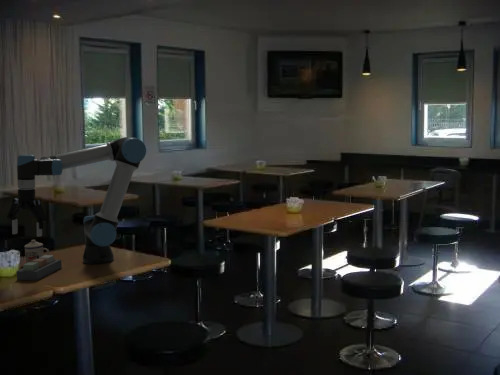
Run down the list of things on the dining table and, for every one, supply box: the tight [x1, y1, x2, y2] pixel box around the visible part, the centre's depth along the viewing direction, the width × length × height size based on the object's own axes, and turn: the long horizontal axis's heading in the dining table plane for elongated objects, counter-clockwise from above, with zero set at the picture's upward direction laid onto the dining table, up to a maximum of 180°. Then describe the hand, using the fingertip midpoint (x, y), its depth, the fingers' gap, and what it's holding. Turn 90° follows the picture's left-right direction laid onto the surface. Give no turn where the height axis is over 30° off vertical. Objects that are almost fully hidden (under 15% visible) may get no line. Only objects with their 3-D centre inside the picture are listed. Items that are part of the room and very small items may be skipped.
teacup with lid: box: [23, 239, 50, 264], centre depth 317 cm, size 12×9×12 cm
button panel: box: [16, 259, 62, 281], centre depth 295 cm, size 10×22×4 cm, turn 168°
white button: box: [40, 254, 55, 263], centre depth 302 cm, size 5×5×4 cm
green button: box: [22, 262, 39, 271], centre depth 288 cm, size 5×5×4 cm
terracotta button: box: [32, 259, 47, 267], centre depth 295 cm, size 5×5×4 cm
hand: (27, 235), depth 289 cm, fingers open, 13 cm apart
